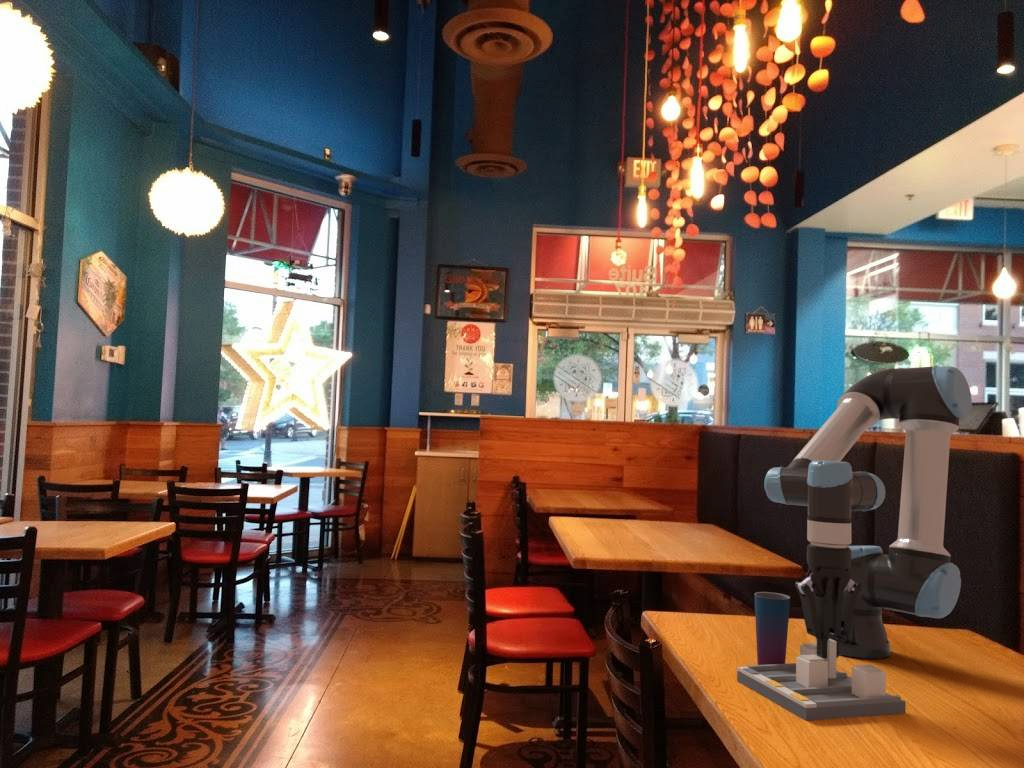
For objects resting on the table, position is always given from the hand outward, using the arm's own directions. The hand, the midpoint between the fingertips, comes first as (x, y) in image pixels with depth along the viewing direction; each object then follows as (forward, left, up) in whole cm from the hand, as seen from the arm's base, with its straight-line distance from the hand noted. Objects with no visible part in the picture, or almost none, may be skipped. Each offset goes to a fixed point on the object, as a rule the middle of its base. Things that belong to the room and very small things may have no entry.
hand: (827, 675), depth 134 cm
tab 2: (-3, +7, -2) cm, 8 cm away
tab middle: (+3, 0, -2) cm, 4 cm away
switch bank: (+2, 0, -4) cm, 4 cm away
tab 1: (-3, -7, -2) cm, 8 cm away
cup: (+2, -14, -4) cm, 15 cm away
